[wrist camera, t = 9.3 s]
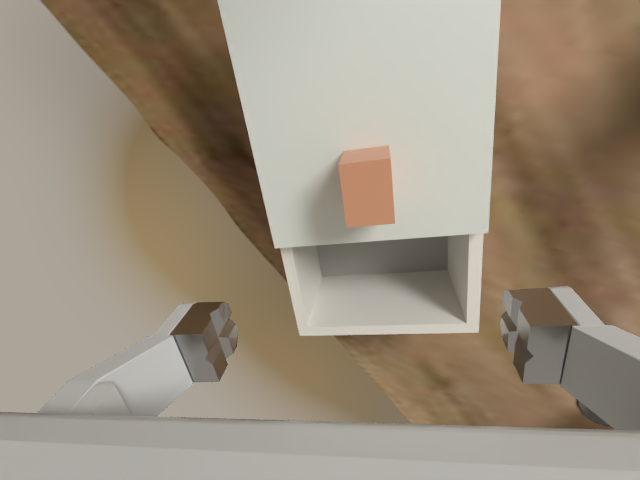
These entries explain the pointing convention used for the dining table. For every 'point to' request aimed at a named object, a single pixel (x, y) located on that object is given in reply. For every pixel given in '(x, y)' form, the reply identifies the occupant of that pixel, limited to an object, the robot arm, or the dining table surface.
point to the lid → (368, 114)
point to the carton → (387, 286)
